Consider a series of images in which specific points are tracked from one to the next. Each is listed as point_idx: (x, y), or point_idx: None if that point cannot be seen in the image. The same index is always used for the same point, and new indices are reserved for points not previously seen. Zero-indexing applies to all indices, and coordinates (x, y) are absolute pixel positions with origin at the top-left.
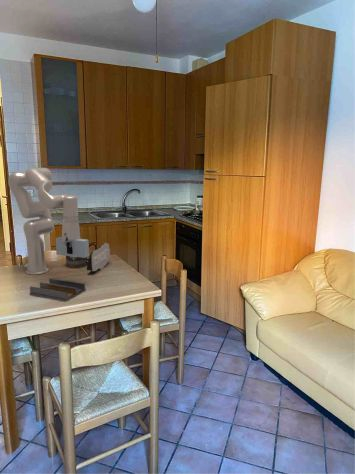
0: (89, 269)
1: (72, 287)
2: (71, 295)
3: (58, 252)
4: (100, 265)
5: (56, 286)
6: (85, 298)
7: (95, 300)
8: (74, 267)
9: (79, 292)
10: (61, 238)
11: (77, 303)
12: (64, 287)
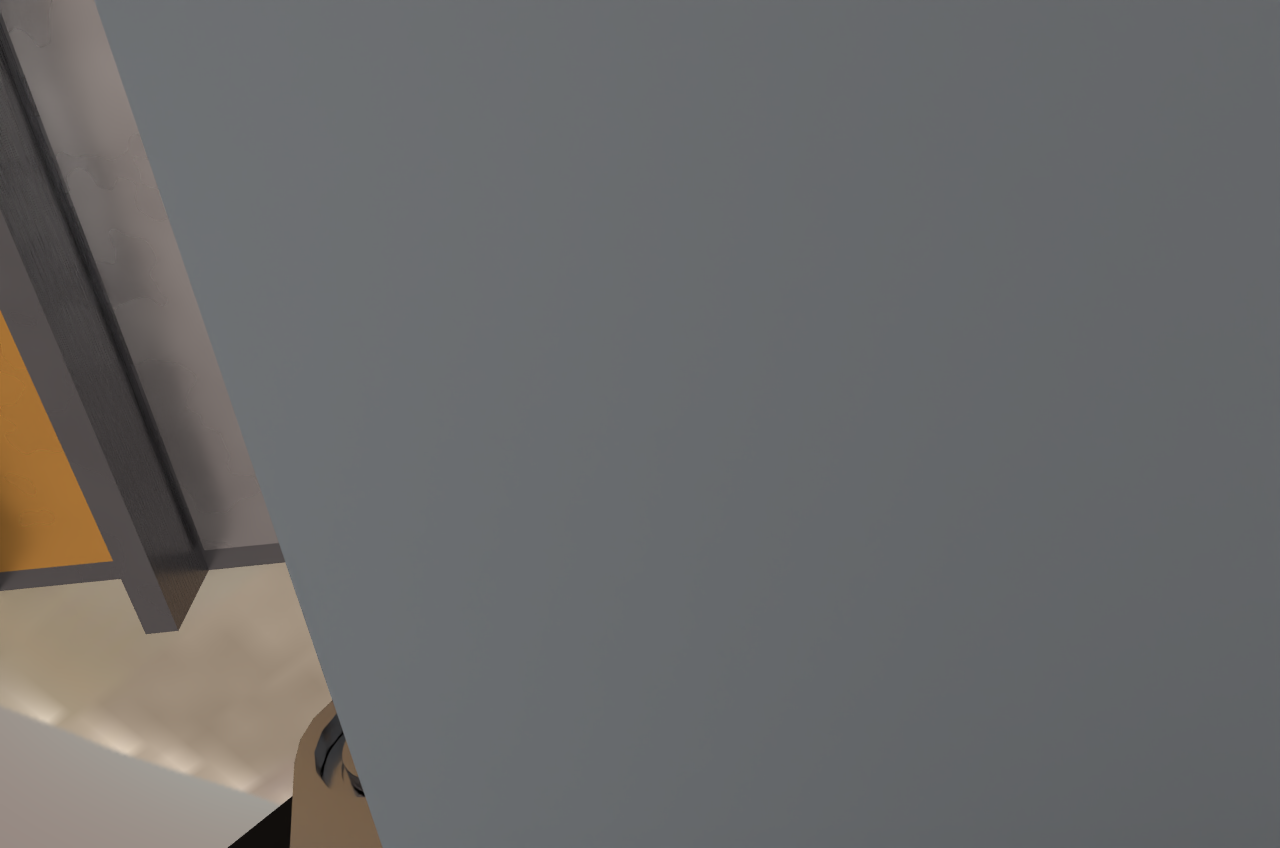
0: None
1: (146, 575)
2: (108, 557)
3: None
4: None
5: (6, 286)
6: (223, 676)
7: (257, 775)
8: None
9: (270, 561)
10: (805, 117)
11: (50, 698)
12: (72, 454)
